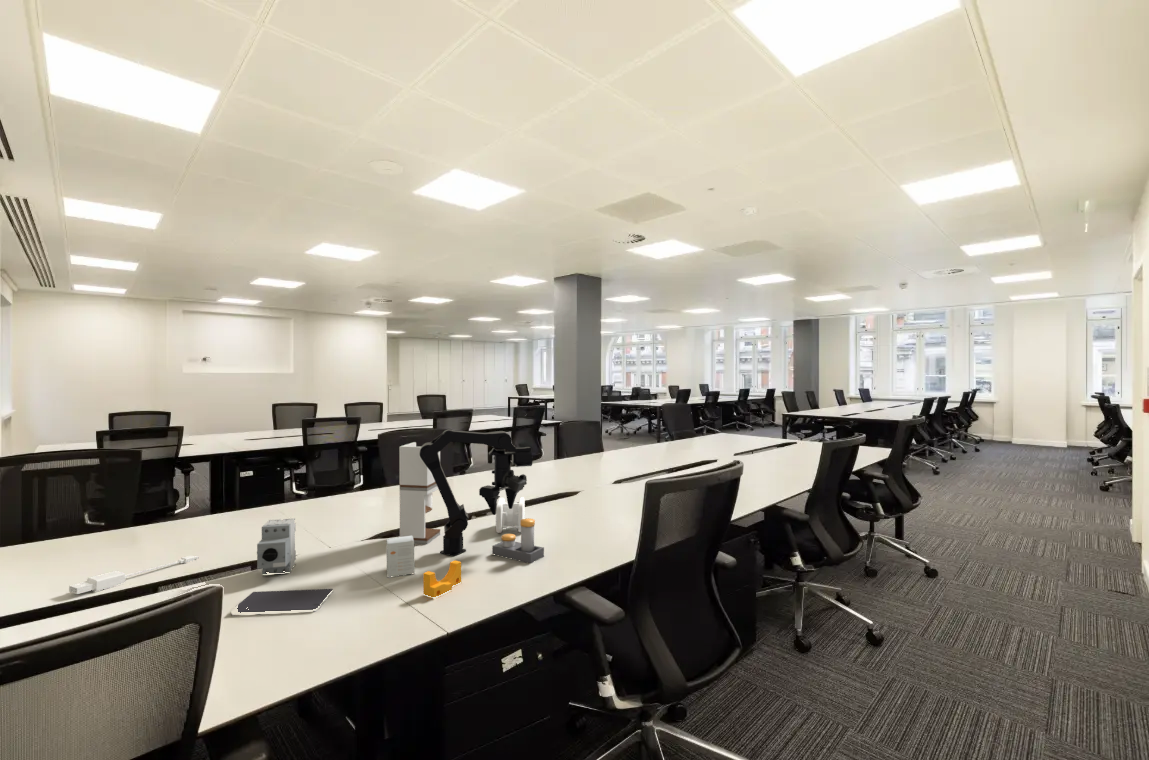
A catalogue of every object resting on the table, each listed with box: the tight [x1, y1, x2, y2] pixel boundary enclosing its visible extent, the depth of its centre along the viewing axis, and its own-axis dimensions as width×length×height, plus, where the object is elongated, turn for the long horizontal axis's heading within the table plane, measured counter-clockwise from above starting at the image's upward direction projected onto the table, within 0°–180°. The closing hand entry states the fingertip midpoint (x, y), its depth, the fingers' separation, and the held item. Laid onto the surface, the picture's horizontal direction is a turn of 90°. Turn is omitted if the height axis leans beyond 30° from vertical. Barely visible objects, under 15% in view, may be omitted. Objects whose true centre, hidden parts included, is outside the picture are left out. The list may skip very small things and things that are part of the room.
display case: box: [398, 441, 441, 545], centre depth 196 cm, size 11×11×35 cm
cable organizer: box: [495, 496, 526, 534], centre depth 208 cm, size 15×11×12 cm
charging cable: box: [68, 555, 199, 595], centre depth 160 cm, size 5×32×3 cm, turn 156°
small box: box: [386, 536, 416, 578], centre depth 163 cm, size 8×6×10 cm
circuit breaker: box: [256, 517, 297, 575], centre depth 162 cm, size 8×14×15 cm, turn 15°
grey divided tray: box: [491, 533, 545, 564], centre depth 179 cm, size 8×16×6 cm, turn 59°
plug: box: [520, 518, 536, 553], centre depth 177 cm, size 5×5×12 cm
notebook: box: [237, 588, 334, 613], centre depth 142 cm, size 13×2×21 cm
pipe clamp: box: [422, 559, 462, 597], centre depth 151 cm, size 12×4×6 cm, turn 147°
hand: (502, 511), depth 186 cm, fingers open, 9 cm apart
